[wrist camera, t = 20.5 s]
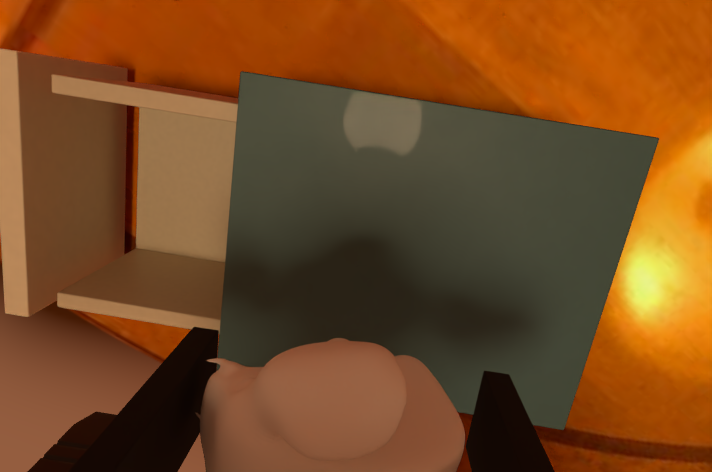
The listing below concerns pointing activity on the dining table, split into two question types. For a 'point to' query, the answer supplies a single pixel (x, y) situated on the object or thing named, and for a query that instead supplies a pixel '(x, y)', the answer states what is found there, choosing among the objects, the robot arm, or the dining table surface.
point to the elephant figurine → (329, 413)
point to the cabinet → (425, 235)
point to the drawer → (112, 193)
